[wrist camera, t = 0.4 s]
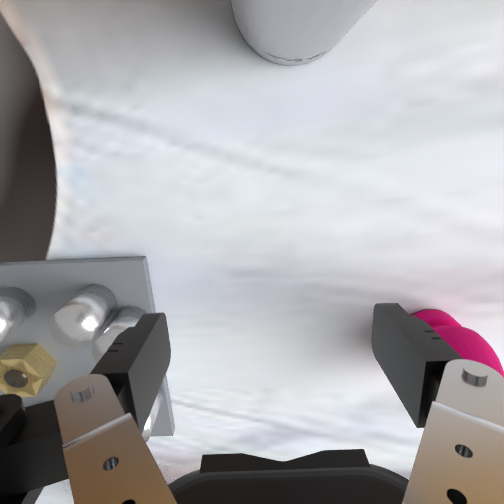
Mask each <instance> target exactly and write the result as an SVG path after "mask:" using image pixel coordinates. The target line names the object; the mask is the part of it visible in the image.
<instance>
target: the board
mask: <svg viewBox="0 0 504 504" xmlns="http://www.w3.org/2000/svg"><path fill="white" fill-rule="evenodd" d="M90 284H101V285H104V286H106V287H108V288H109V289H110V290H111V291H112V292H113V293H114V295H115V296H116V299H117V306H116V309H115V311H114V312H113V313H112V314H111V316H110V317H109V318H108V320H107V321H106V322H105V323H104V325H103V326H102V327H101V329H100V330H99V331H98V332H97V334H96V335H95V336H94V338H93V339H92V340H91V341H90V343H89V344H87V345H86V346H84V347H81V348H69V347H65V346H63V345H61V344H59V343H58V342H57V341H56V340H55V339H54V338H53V337H52V335H51V334H50V331H49V321H50V319H51V318H52V317H53V315H55V314H56V313H57V312H58V311H59V310H60V309H61V308H62V307H63V306H64V305H66V304H67V303H68V302H69V301H70V300H71V299H72V298H73V297H74V296H75V295H76V294H78V293H79V292H80V291H81V290H82V289H83V288H84V287H86V286H87V285H90ZM8 287H17V288H20V289H23V290H25V291H26V292H28V293H29V294H30V295H31V296H32V298H33V299H34V301H35V304H36V310H35V313H34V314H33V315H32V316H31V317H30V318H29V319H28V320H27V321H25V322H24V323H23V324H22V325H20V326H19V327H18V328H17V329H16V330H14V331H13V332H12V333H11V334H10V335H8V336H7V337H6V338H5V339H4V340H2V341H1V342H0V355H2V354H3V353H4V352H5V351H6V350H7V349H8V348H9V347H11V346H12V345H13V344H39V345H40V346H42V347H43V348H44V349H45V350H46V351H47V352H48V353H49V354H50V355H51V356H52V357H53V358H54V359H55V360H56V361H57V363H56V365H55V368H54V371H53V373H52V376H51V378H50V380H49V381H48V383H47V384H46V385H45V386H44V388H43V389H42V390H41V391H40V392H39V394H38V395H37V396H36V397H21V398H22V401H23V404H24V407H28V406H31V405H35V404H39V403H42V402H44V401H51V400H54V398H55V395H56V393H57V392H58V391H59V390H60V389H61V388H62V387H63V386H64V385H66V384H67V383H69V382H70V381H72V380H74V379H76V378H79V377H81V376H85V375H89V374H90V373H91V371H92V370H93V369H94V367H95V366H96V364H97V363H96V362H95V360H94V359H93V356H92V352H91V350H92V346H93V344H94V342H95V341H96V340H97V338H98V337H99V336H100V334H101V333H102V332H103V330H104V329H105V328H106V327H107V325H108V324H109V323H110V321H111V320H112V319H113V317H114V316H115V315H116V313H117V312H118V311H119V310H120V309H121V308H123V307H125V306H137V307H140V308H142V309H143V310H145V311H146V312H147V313H156V312H155V306H154V300H153V294H152V288H151V282H150V276H149V270H148V264H147V258H146V257H120V258H94V259H69V260H43V261H20V262H19V261H18V262H0V291H1V290H3V289H5V288H8ZM161 387H162V389H163V391H164V396H163V399H162V402H161V405H160V408H159V411H158V414H157V417H156V420H155V423H154V426H153V429H152V432H151V435H150V436H173V434H174V430H175V426H174V420H173V414H172V408H171V402H170V396H169V390H168V384H167V378H166V374H165V377H164V379H163V382H162V384H161ZM3 394H5V393H4V392H3V391H2V390H1V389H0V395H3Z"/></svg>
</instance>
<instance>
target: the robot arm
mask: <svg viewBox="0 0 504 504" xmlns="http://www.w3.org/2000/svg"><path fill="white" fill-rule="evenodd" d="M376 1H377V0H231V4H232V9H233V13H234V18H235V21H236V23H237V26H238V28H239V30H240V33H241V34H242V36H243V37H244V39H245V40H246V42H247V43H248V45H249V46H250V47H251V48H252V49H253V50H254V51H255V52H256V53H258V54H259V55H260V56H262V57H264V58H265V59H267V60H269V61H271V62H274V63H277V64H280V65H290V66H295V65H301V64H306V63H309V62H311V61H314V60H316V59H318V58H320V57H321V56H323V55H324V54H325V53H327V52H328V51H330V49H331V48H332V47H333V46H334V45H335V44H336V43H337V42H338V41H339V40H340V39H341V38H342V37H343V36H344V35H345V34H346V33H347V32H348V31H349V30H350V29H351V28H352V27H353V26H354V25H355V24H356V23H357V21H358V20H359V19H360V18H361V17H362V16H363V15H364V14H365V13H366V12H367V11H368V10H369V9H370V8H371V7H372V5H373V4H374V3H375V2H376ZM372 349H373V353H374V356H375V358H376V359H377V361H378V363H379V365H380V366H381V368H382V370H383V371H384V373H385V375H386V376H387V378H388V380H389V381H390V383H391V385H392V386H393V388H394V390H395V391H396V393H397V395H398V397H399V398H400V400H401V402H402V403H403V405H404V407H405V408H406V410H407V412H408V413H409V415H410V417H411V418H412V420H413V422H414V423H415V425H416V427H417V428H424V432H423V435H422V438H421V442H420V445H419V449H418V452H417V455H416V459H415V462H414V465H413V469H412V472H411V475H410V479H409V480H408V479H406V478H404V477H402V476H401V475H399V474H397V473H395V472H393V471H390V470H388V469H386V468H383V467H380V466H376V465H373V464H369V462H368V460H367V457H366V454H365V451H364V449H351V450H324V451H320V452H317V453H313V454H310V455H307V456H303V457H300V458H296V459H293V460H289V461H284V462H282V461H276V460H271V459H266V458H261V457H257V456H252V455H247V454H242V453H239V454H212V455H202V461H201V467H200V470H197V471H194V472H191V473H189V474H186V475H184V476H182V477H180V478H179V479H177V480H175V481H174V482H172V483H171V484H169V485H167V483H166V481H165V479H164V477H163V475H162V473H161V471H160V469H159V467H158V465H157V463H156V462H155V460H154V458H153V456H152V454H151V452H150V450H149V448H148V446H147V444H146V442H145V440H144V438H143V436H142V432H143V430H144V427H145V425H146V422H147V420H148V417H149V415H150V412H151V410H152V407H153V405H154V402H155V399H156V397H157V394H158V392H159V389H160V387H161V384H162V382H163V379H164V377H165V374H166V371H167V369H168V366H169V363H170V357H171V348H170V341H169V334H168V327H167V321H166V316H165V314H164V313H144V314H143V315H142V316H141V318H140V319H139V321H138V322H137V324H136V325H135V327H128V328H127V329H126V330H124V331H123V332H121V333H120V334H119V335H118V336H117V337H116V339H115V340H114V341H113V343H112V345H110V347H109V348H108V349H107V352H105V354H104V355H103V356H102V358H101V359H100V360H99V362H98V363H97V364H96V366H95V367H94V369H93V370H92V371H91V373H90V374H89V375H85V376H81V377H79V378H76V379H74V380H72V381H70V382H69V383H67V384H66V385H64V386H63V387H62V388H61V389H60V390H59V391H58V392H57V393H56V395H55V398H54V400H51V401H47V402H43V403H39V404H35V405H31V406H28V407H24V404H23V401H22V398H21V397H20V396H19V395H16V394H3V395H0V504H35V502H36V500H37V498H38V497H39V495H40V493H41V491H42V489H43V488H44V486H47V485H50V484H53V483H56V482H59V481H63V480H66V479H69V481H70V485H71V490H72V495H73V499H74V504H504V378H503V376H502V375H501V374H500V373H498V372H497V371H496V370H494V369H493V368H491V367H489V366H487V365H484V364H482V363H479V362H476V361H472V360H465V359H463V358H462V357H461V356H460V355H459V354H458V353H457V352H456V351H455V350H454V349H453V348H452V347H451V346H450V345H449V344H448V343H447V342H446V341H445V340H444V339H442V337H441V336H440V335H439V334H438V333H437V332H435V330H434V329H433V328H432V327H431V326H430V325H429V324H428V323H427V322H425V321H423V320H421V319H420V318H418V317H416V316H414V315H409V314H408V313H407V312H406V311H405V310H404V309H403V308H402V307H401V306H400V305H399V304H398V303H380V304H376V305H375V306H374V313H373V327H372Z"/></svg>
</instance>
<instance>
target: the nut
mask: <svg viewBox="0 0 504 504" xmlns="http://www.w3.org/2000/svg"><path fill="white" fill-rule="evenodd" d="M56 363H57V361H56V360H55V359H54V358H53V357H52V356H51V355H50V354H49V353H48V352H47V351H46V350H45V349H44V348H43V347H42V346H40V345H39V344H13V345H12V346H11V347H9V348H8V349H7V350H6V351H5V352H4V353H3V354H2V355H0V389H1V390H2V391H3V392H4V393H5V394H16V395H19V396H20V397H36V396H37V395H38V394H39V392H40V391H41V390H42V389H43V388H44V386H45V385H46V384H47V383H48V381H49V380H50V378H51V376H52V373H53V371H54V368H55V365H56Z"/></svg>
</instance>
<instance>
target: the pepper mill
mask: <svg viewBox="0 0 504 504" xmlns="http://www.w3.org/2000/svg"><path fill="white" fill-rule="evenodd" d="M414 316H416V317H418V318H420V319H421V320H423V321H425V322H427V323H428V324H429V325H430V326H431V327H432V328H433V329H434V330H435V332H437V333H438V334H439V335H440V336H441V337H442V339H444V340H445V341H446V342H447V343H448V344H449V345H450V346H451V347H452V348H453V349H454V350H455V351H456V352H457V353H458V354H459V355H460V356H461V357H462V358H463V359H465V360H472V361H476V362H479V363H482V364H484V365H487V366H489V367H491V368H493V369H494V370H496V371H497V372H498V373H500V374H501V375H502V376H503V378H504V371H503V369H502V366H501V363H500V361H499V358H498V357H497V355H496V354H495V352H494V350H493V349H492V347H491V346H490V345H489V344H488V343H487V342H486V341H485V340H484V339H483V338H482V337H481V336H480V335H479V334H478V333H476V332H475V331H473V330H470V329H468V328H465V327H462V326H461V325H460V324H459V323H458V322H457V321H456V320H455V319H453V318H452V317H451V316H450V315H449V314H447V313H445V312H443V311H439V310H425V311H420V312H418V313H416V314H414Z"/></svg>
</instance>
